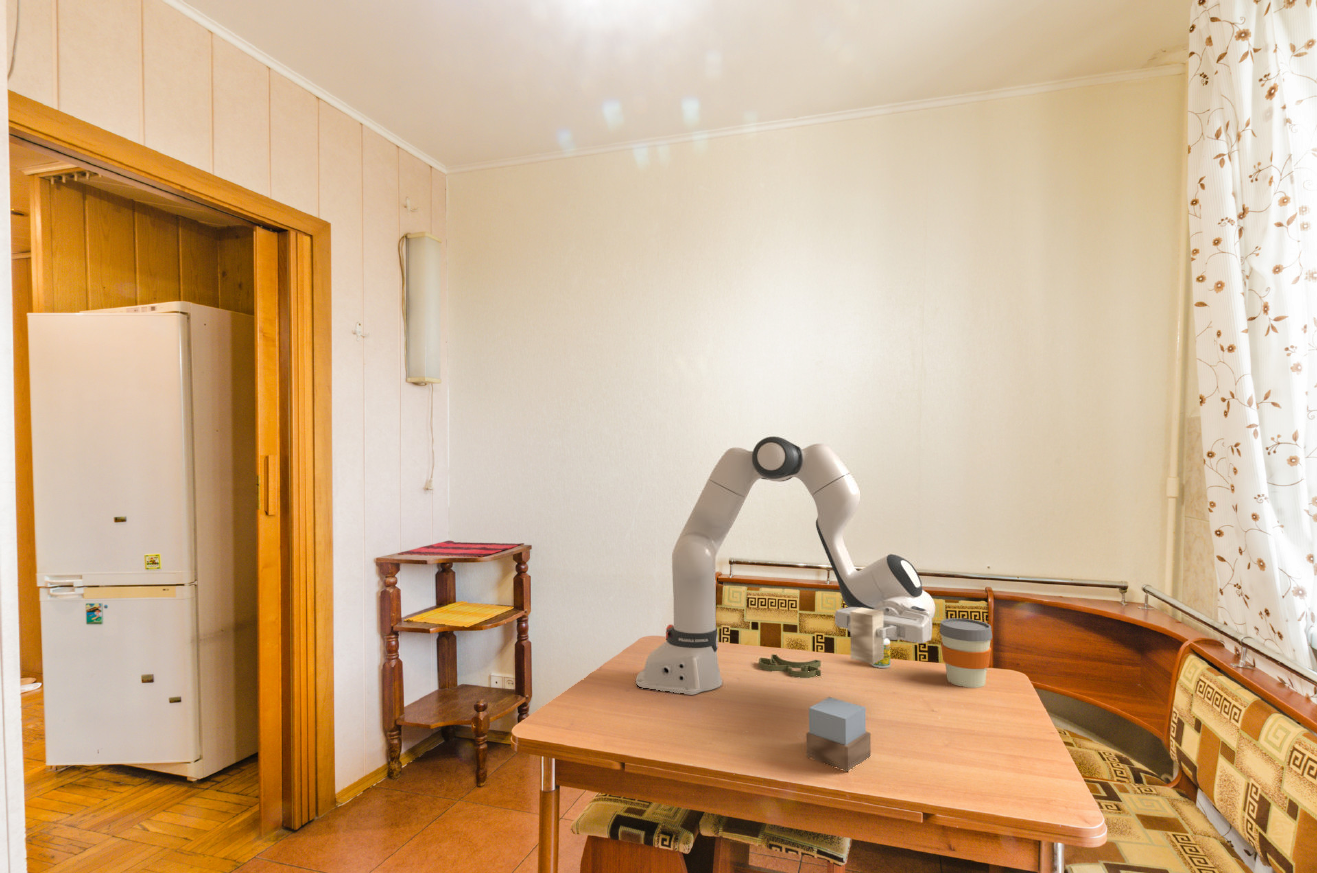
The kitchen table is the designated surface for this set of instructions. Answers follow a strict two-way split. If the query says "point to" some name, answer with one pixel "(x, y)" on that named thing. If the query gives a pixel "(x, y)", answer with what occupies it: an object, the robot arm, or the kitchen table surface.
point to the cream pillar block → (866, 635)
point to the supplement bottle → (886, 661)
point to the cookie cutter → (785, 666)
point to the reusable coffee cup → (966, 651)
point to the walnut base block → (839, 751)
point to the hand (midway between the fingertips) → (865, 630)
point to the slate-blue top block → (837, 720)
